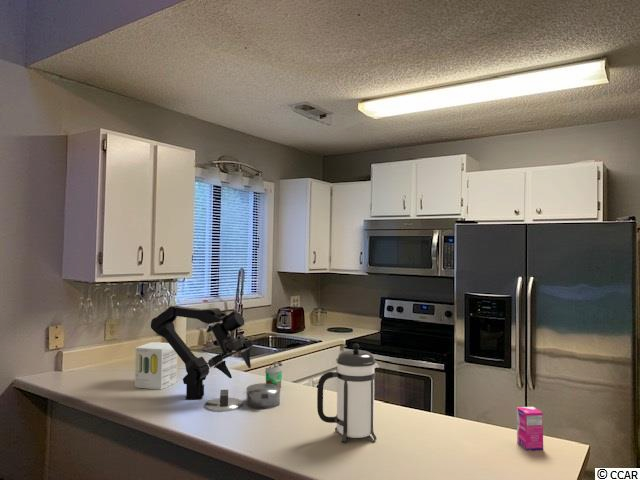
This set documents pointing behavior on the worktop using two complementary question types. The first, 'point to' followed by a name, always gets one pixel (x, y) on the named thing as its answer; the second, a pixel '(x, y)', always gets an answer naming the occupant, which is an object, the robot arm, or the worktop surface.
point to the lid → (224, 403)
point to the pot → (263, 396)
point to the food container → (274, 374)
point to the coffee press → (352, 394)
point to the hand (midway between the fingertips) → (240, 372)
